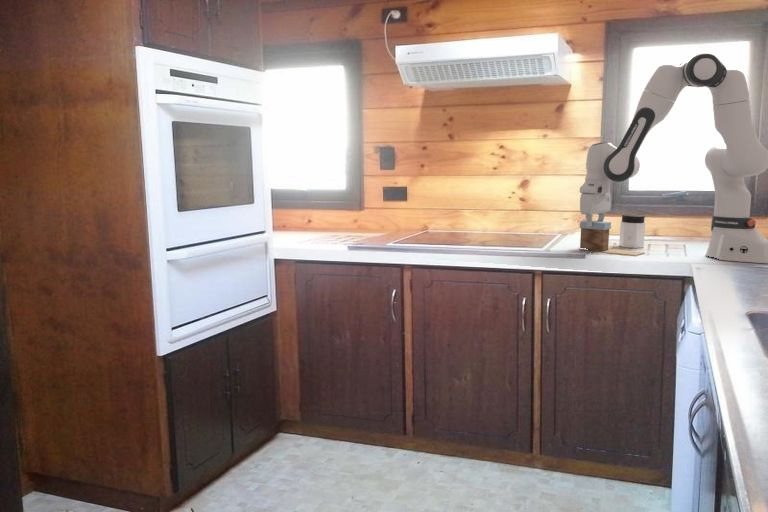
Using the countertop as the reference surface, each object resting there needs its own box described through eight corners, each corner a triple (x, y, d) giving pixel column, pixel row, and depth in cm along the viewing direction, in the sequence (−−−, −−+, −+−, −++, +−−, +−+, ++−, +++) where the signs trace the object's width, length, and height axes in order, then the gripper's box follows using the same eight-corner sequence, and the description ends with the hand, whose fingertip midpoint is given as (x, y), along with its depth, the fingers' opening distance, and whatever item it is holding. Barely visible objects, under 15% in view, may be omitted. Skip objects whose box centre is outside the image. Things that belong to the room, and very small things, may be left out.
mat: (644, 253, 252) (644, 252, 252) (636, 256, 245) (636, 255, 245) (611, 250, 259) (611, 249, 259) (602, 252, 252) (602, 251, 252)
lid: (610, 231, 257) (611, 222, 257) (604, 233, 253) (604, 223, 252) (586, 229, 263) (586, 220, 262) (579, 231, 258) (580, 221, 258)
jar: (616, 246, 268) (618, 215, 266) (621, 244, 275) (623, 213, 273) (641, 248, 263) (643, 216, 262) (645, 246, 271) (647, 215, 269)
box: (608, 250, 258) (609, 228, 257) (602, 252, 254) (604, 229, 253) (585, 248, 264) (586, 226, 262) (579, 249, 259) (580, 228, 258)
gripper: (599, 186, 265) (597, 223, 267) (577, 188, 249) (575, 227, 251) (616, 187, 261) (613, 224, 263) (594, 189, 246) (592, 228, 248)
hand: (594, 225), depth 257 cm, fingers open, 8 cm apart
